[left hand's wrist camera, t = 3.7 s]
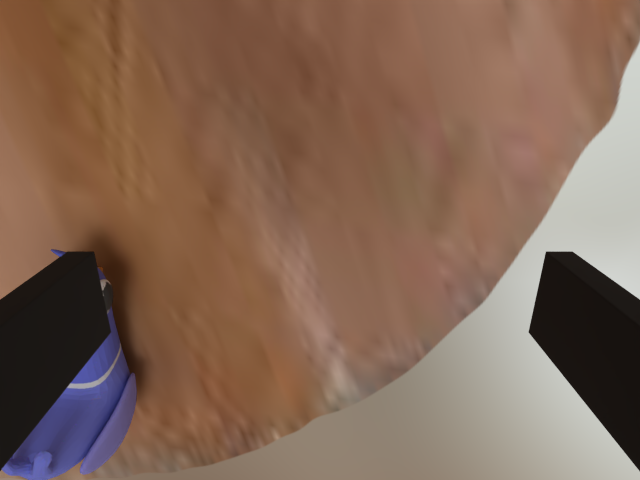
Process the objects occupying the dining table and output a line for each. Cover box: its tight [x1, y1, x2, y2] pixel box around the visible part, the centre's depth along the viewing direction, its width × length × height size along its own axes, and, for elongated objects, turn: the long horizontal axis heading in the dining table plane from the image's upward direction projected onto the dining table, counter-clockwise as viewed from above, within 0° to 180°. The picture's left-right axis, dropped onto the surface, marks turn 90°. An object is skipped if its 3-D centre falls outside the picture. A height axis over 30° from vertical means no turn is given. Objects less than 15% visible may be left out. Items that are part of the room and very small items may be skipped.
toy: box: [2, 249, 137, 480], centre depth 39 cm, size 10×17×25 cm
